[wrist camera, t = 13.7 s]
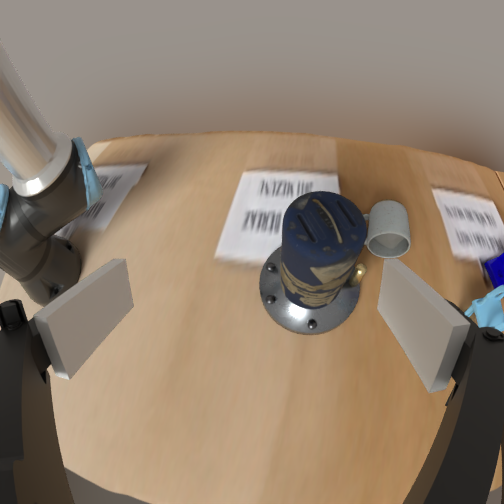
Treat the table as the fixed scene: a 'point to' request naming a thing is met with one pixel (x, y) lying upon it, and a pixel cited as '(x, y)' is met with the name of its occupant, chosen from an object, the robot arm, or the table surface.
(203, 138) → the table surface
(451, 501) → the robot arm
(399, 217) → the ceramic mug
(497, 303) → the light blue stand
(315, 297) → the canister
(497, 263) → the mounting bracket
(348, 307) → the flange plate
